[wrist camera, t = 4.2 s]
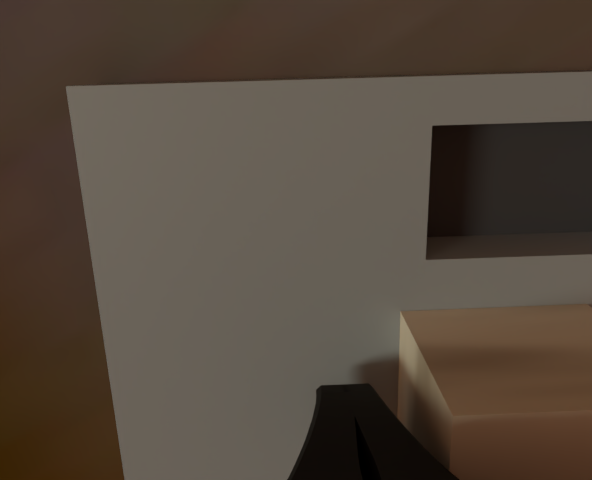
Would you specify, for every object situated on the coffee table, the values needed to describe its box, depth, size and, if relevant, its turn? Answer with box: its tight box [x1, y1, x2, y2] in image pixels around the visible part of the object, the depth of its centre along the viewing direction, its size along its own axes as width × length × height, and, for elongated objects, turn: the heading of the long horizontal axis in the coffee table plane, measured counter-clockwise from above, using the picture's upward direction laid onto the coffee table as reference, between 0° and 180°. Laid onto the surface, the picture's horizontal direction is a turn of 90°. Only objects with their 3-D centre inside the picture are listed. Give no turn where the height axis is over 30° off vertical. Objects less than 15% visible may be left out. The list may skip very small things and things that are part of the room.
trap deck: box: [66, 70, 592, 480], centre depth 14 cm, size 15×21×2 cm
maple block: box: [397, 304, 592, 480], centre depth 11 cm, size 4×4×4 cm
